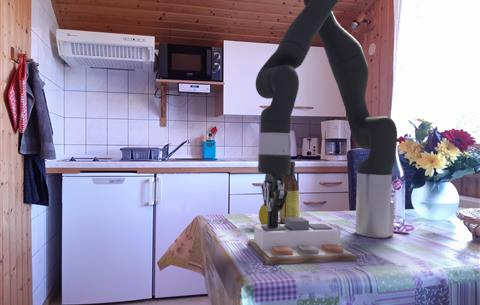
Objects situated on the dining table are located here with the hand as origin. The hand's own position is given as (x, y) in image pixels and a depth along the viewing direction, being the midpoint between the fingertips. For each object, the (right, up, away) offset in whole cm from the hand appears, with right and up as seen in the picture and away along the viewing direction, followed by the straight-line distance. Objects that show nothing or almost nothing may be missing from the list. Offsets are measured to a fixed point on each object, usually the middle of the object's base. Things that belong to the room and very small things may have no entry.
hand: (272, 226), depth 81 cm
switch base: (+6, -6, -1) cm, 8 cm away
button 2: (+6, -2, +1) cm, 6 cm away
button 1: (+11, -4, +2) cm, 12 cm away
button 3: (0, -4, 0) cm, 4 cm away
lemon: (+1, -5, +22) cm, 22 cm away
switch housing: (+6, -5, +1) cm, 8 cm away
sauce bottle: (+8, -5, +30) cm, 32 cm away
